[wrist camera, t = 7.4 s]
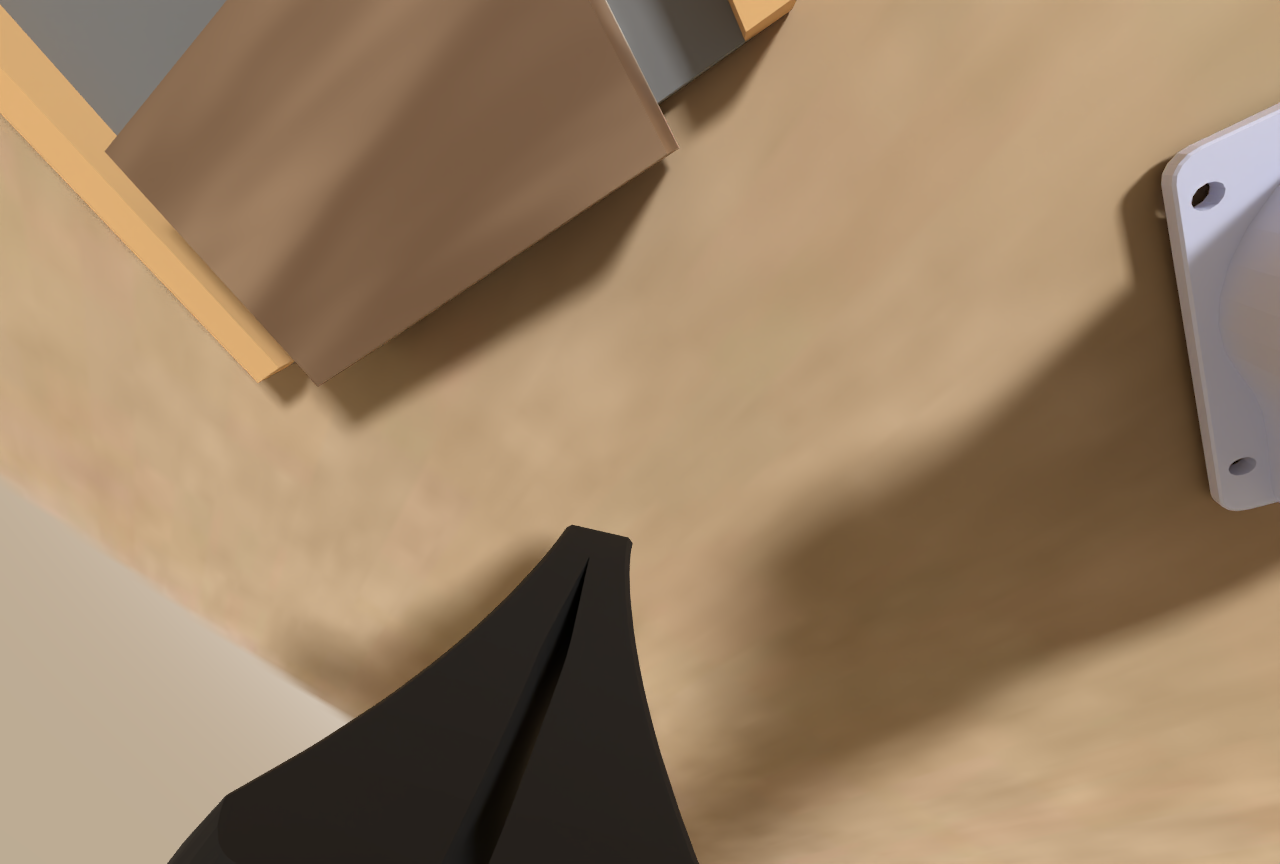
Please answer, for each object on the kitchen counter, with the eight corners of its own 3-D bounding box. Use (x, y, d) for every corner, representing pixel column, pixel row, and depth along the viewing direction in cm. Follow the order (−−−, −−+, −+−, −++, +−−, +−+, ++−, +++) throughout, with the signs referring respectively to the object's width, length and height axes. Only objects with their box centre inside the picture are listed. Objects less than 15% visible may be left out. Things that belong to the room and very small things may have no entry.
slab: (667, 154, 9) (449, -275, 7) (317, 386, 13) (104, 151, 11) (680, 147, 12) (514, -185, 9) (376, 349, 15) (207, 146, 13)
